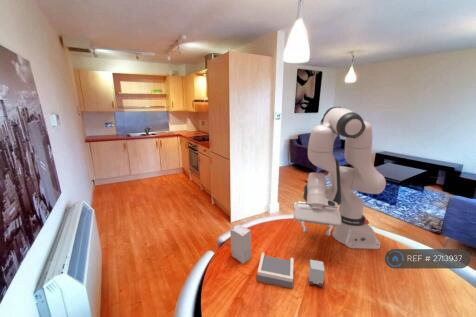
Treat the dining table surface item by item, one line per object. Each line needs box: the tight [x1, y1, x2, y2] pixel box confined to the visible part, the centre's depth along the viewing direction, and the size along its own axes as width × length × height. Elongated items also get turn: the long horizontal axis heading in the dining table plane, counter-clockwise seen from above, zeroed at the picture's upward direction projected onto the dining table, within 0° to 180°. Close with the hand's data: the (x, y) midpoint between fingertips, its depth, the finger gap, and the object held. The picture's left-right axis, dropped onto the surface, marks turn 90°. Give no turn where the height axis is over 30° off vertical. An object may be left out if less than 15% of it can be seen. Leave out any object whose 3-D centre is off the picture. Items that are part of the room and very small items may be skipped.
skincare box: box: [229, 224, 252, 265], centre depth 99 cm, size 8×6×15 cm
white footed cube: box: [308, 259, 325, 288], centre depth 86 cm, size 5×6×8 cm
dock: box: [256, 252, 294, 289], centre depth 90 cm, size 14×12×4 cm
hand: (316, 233), depth 92 cm, fingers open, 8 cm apart
